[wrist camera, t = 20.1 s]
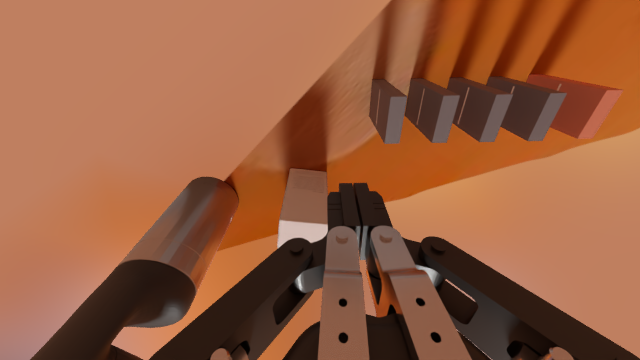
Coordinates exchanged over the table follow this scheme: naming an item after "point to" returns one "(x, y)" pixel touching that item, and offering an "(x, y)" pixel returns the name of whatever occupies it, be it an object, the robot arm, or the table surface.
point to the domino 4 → (528, 107)
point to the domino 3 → (479, 108)
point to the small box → (304, 206)
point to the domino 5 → (578, 104)
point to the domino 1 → (387, 110)
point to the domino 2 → (431, 109)
